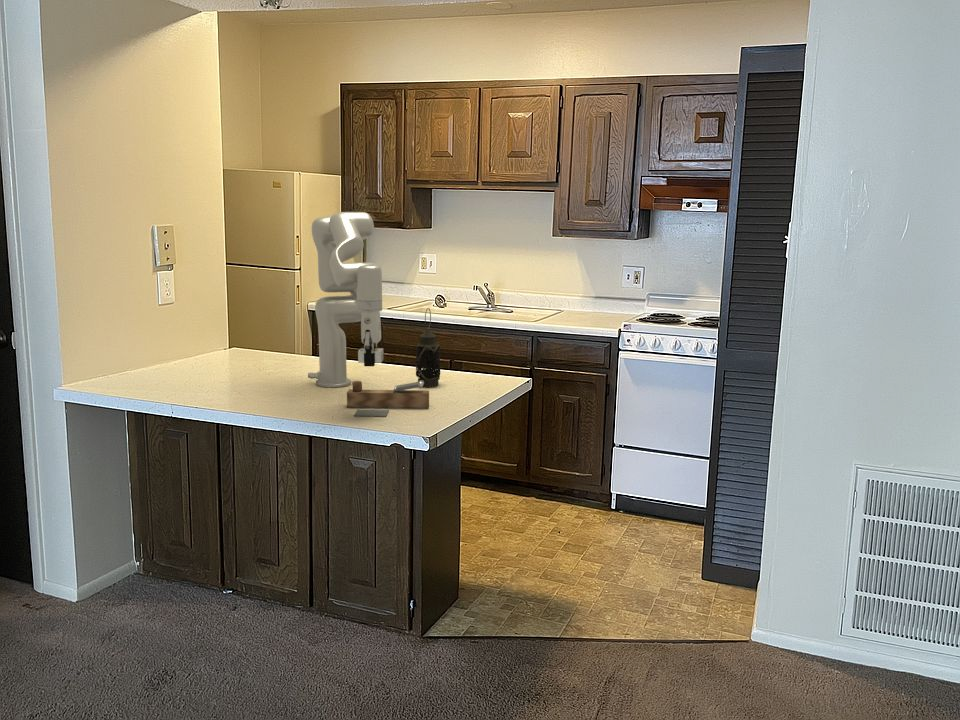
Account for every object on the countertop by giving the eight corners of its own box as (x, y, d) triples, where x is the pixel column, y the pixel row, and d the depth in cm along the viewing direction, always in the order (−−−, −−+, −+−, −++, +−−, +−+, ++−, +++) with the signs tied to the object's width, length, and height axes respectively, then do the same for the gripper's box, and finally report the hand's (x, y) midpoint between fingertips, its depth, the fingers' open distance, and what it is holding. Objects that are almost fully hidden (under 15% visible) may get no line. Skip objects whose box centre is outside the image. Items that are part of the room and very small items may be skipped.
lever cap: (358, 362, 260) (358, 350, 259) (361, 359, 265) (360, 347, 264) (381, 363, 260) (380, 350, 259) (383, 359, 265) (383, 347, 264)
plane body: (347, 407, 273) (346, 383, 272) (349, 404, 277) (349, 380, 276) (428, 408, 272) (427, 384, 271) (429, 405, 277) (429, 381, 275)
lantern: (436, 389, 300) (436, 310, 295) (411, 387, 302) (411, 309, 296) (443, 383, 309) (443, 306, 304) (419, 381, 311) (418, 305, 306)
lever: (392, 388, 271) (422, 382, 271) (394, 384, 276) (423, 379, 275) (393, 392, 272) (423, 387, 271) (395, 389, 276) (424, 384, 276)
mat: (353, 416, 262) (353, 415, 262) (357, 410, 269) (357, 409, 269) (386, 417, 262) (386, 415, 262) (389, 411, 269) (389, 410, 269)
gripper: (378, 309, 251) (379, 370, 254) (385, 302, 267) (386, 359, 271) (352, 309, 251) (354, 369, 254) (362, 302, 268) (363, 359, 271)
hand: (370, 363), depth 263 cm, fingers closed on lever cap, 5 cm apart
